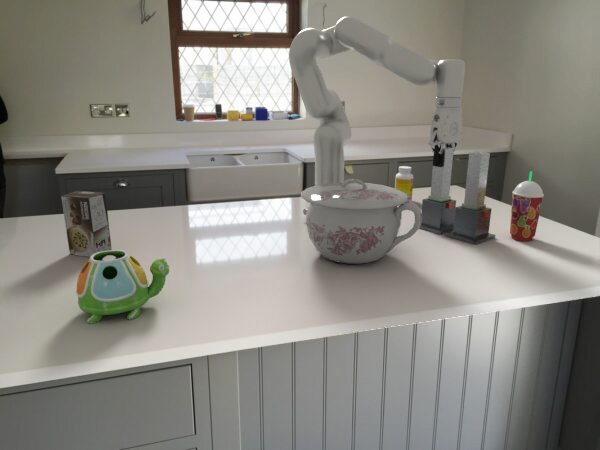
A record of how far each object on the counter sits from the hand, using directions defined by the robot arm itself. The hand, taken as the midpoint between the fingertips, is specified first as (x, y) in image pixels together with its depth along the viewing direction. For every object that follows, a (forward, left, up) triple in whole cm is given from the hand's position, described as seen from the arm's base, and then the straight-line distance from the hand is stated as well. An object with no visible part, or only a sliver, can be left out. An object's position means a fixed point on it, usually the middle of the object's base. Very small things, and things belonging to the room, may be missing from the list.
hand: (442, 165), depth 152 cm
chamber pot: (-39, -2, -20) cm, 44 cm away
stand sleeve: (0, 0, -20) cm, 20 cm away
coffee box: (-93, +42, -20) cm, 104 cm away
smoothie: (+11, -22, -20) cm, 32 cm away
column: (0, 0, -13) cm, 13 cm away
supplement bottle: (+19, +30, -20) cm, 41 cm away
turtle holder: (-98, +4, -20) cm, 100 cm away
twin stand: (0, -12, -20) cm, 23 cm away
